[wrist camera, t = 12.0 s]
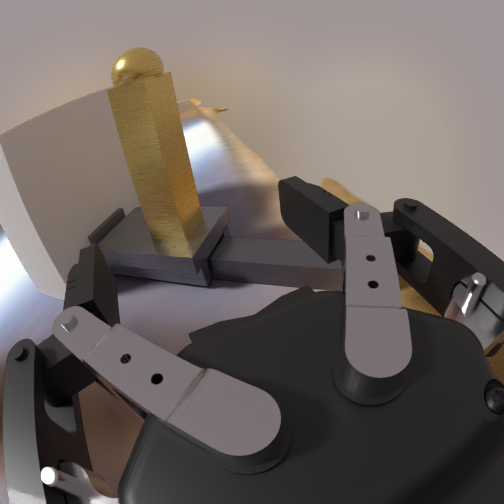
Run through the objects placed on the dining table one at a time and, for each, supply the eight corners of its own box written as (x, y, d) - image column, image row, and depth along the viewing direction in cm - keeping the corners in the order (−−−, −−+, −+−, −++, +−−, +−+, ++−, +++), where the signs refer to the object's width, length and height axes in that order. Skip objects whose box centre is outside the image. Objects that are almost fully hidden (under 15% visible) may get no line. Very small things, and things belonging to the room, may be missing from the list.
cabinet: (39, 292, 26) (-28, 154, 16) (114, 216, 37) (76, 100, 27) (82, 306, 23) (1, 134, 14) (160, 216, 34) (123, 83, 25)
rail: (91, 266, 28) (77, 238, 26) (112, 243, 31) (101, 215, 29) (377, 298, 20) (385, 258, 18) (376, 262, 23) (381, 224, 21)
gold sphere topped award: (107, 277, 25) (35, 88, 15) (145, 234, 31) (96, 69, 20) (203, 292, 22) (136, 38, 12) (233, 238, 28) (194, 35, 17)
